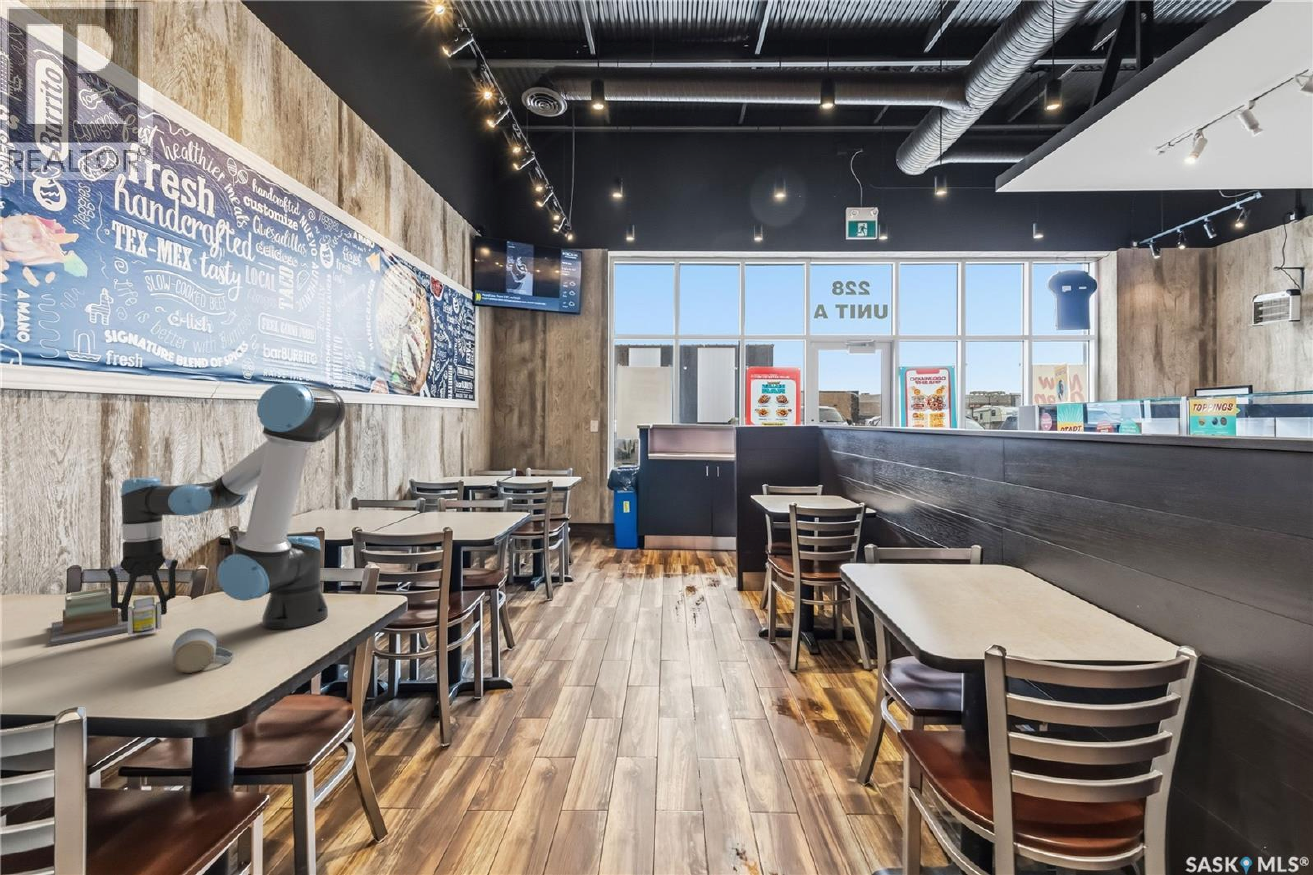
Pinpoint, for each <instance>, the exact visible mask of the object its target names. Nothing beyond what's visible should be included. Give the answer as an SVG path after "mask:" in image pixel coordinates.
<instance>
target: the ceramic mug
mask: <svg viewBox="0 0 1313 875" xmlns="http://www.w3.org/2000/svg"><path fill="white" fill-rule="evenodd" d="M217 644H218V642H217V637H216V636H215V634H214V633H213V632H212V631H210V630H208V629H205V628H192V629H189V630H185V631H184V632H182V633H181V634H179V636H178V637H177V638H176V639H175V641H174V643H173V646H172V655H171V657H172V658H171V659H172V660H171V661H172V664H173V666H174V667H175V669H177V670H178V671H179V672H182V673H186V674H191V673H198V672H200V671H202V670H204V669H206V668H207V667H208V666H209V665H210V664H211V663H214V664H220V665H227V664H229V663H231V662H232V661H233V658H234V656H235V654H234V653H233V652H232V651H231V650H229V649H227V648H224V647H219V646H217Z"/></svg>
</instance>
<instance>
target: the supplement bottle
mask: <svg viewBox="0 0 1313 875" xmlns="http://www.w3.org/2000/svg"><path fill="white" fill-rule="evenodd" d="M132 625H133V635H136V636H139V635H140V636H141V635H146V634H150V633H153V632H155V631H157V630H158V629H157V606H156V601H155V597H154V596H144V597H139V598H135V599H134V600H133V603H132Z"/></svg>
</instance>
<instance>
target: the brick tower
mask: <svg viewBox="0 0 1313 875" xmlns="http://www.w3.org/2000/svg"><path fill="white" fill-rule="evenodd" d="M65 594H66V596H65V603H64V604H65V605H64V606H65V607H64V608H65V609H62V620H61V621H60V620H59V621H54V622H51V630H50V631H51V632H50V636H51V638H50V643H51V644H50V645H51V646H50V647H56V646H61V645H66V644H71V643H77V642H76V641H78V642H82V641H88V640H89V641H90V640H94V639H98V638H103V637H102V636H105V637H110V636H115V634H116V635H120V634H119V633H121V634H125V633H124V632H126V633H128V624H127V621H126V622H122V620H121V610H120V611H119V608H112V607H111V588H110V587H103V588H96V589H95V588H94V589H89V590H80V591H75V592H74V591H73V592H66V593H65Z"/></svg>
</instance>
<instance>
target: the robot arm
mask: <svg viewBox="0 0 1313 875" xmlns="http://www.w3.org/2000/svg"><path fill="white" fill-rule="evenodd" d="M346 411H347V410H346V405H345V401H344V400H343V398H342V397H341V396H340V395H339V394H338V392H336V391H334V390H333V389H331V388H328V387H324V386H313V385H306V384H301V383H295V382H294V383H279V384H275V385H273V386H271V387H270V388H268V389H267V390H265V391H264V393H262V394H261V396H260V397H259V400H258V402H257V406H256V414H257V417H258V418H259V421H260V423H261V425H262V426H263V428H262V429H263V430H262V434H263V436H264V437H265V438H266V441H265V442H263V443H262V444H261V445H260V446H258V447H257V448H256V449H254V450H253V451H252V452H251V453H249V454H248V455H246V457H244V458H243V459H242V460H240V461H239V462H238V463H236V464H235V465H234V466H232V467H231V468H230V469H229V470H227V471H226V472H224V473H223V474H222V475H221V476H219V477H218V478H217V479H215V481H214V480H213V481H210V482H202V483H193V484H182V485H181V484H180V485H177V484H176V485H163V484H162V479H161V478H159V477H139V478H138V477H137V478H128V479H124V480H123V482H121V494H120V498H121V518H122V520H121V523H122V524H121V526H122V528H121V529H122V530H121V531H122V533H121V534H122V537H121V538H122V540H124V541H123V543H122V560H121V561H120V563H119V564H117V565H114V566H113V567H107V568H106V572H107V575H108V576H109V579H110V582H109V583H110V588H111V607H112V608H118V610H120V611H121V620H122V622H126V621H127V624H128V632H127V635H128V636H132V635H134V634H133V625H132V609H133V606H129V605H130V602H131V598H132V595H133V592H134V589H135V584H136V582H137V579H138V578H141V577H143V576H148V577H149V576H150V577H151V580H152V583H153V584H154V588H155V591H156V594H157V596H158V599H159V601H155V605H156V606H157V630H162V616H164V615H167V613H168V605H167V603H168V601H170V600H172V599H175V598H176V597H177V596H176V595H177V594H176V593H177V589H176V588H177V587H176V568H177V566H178V564H179V561H178V560H177V559H176V558H173V559H171V558H166V557H165V555H164V550H163V548H164V547H163V546H164V544H163V538H161V537H162V536H163V516H182V517H188V516H197V515H201V514H203V513H204V512H208V511H214V510H215V511H216V510H221V509H223V510H224V509H225V510H226V509H231V508H232V509H233V508H234V507H238V506H240V505H242V504H244V503H245V501H247V500H246V499H247V498H248V494H249V492H250V491H251V490H253V489H254V488H255V487H256V490H255V493H254V494H255V495H254V499H253V502H252V505H251V506H252V507H251V510H250V515H249V519H248V523H247V527H246V532H245V534H244V535H243V536H241V537H239V538H238V539H237V540H236V541H235V545H234V548H233V552H232V554H231V555H227V557H226V558H224V559H222V561H221V562H220V563H219V565H218V567H217V569H216V570H217V572H216V578H217V582H218V585H219V587H220V588H221V589H222V590H223V592H224V594H226V595H227V596H228V597H230V598H231V599H233V600H236V601H243V602H246V601H250V600H253V599H259V598H262V597H264V596H266V595H269V598H268V601H267V603H266V606H265V609H264V612H263V614H262V618H261V620H262V621H261V622H262V625H261V626H262V627H263V628H265V629H269V630H287V629H295V628H296V629H297V628H301V627H306V626H310V625H314V624H317V623H319V622H322V621H324V620H325V619H327V618H328V616H329V614H328V612H329V609H328V605H327V603H326V601H325V600H326V599H325V598H324V594H323V591H322V590H321V552H322V548H321V541H320V539H319V538H318V537H317V536H308V535H307V536H306V535H304V536H303V535H298V536H297V535H295V536H294V535H293V536H288V532H289V528H290V524H291V521H292V516H293V512H294V508H295V504H296V499H297V495H298V492H299V487H300V484H301V480H302V475H303V471H304V468H305V464H306V459H307V455H308V450H309V448H310V447H311V446H314V445H315V444H317V442H322V441H323V440H325V439H326V438H328V437H329V436H330V435H332V433H334V432H335V431H336V430H337V429H338V428H339V427H340V426H341V425H342V423H344V420H345V417H346V413H347V412H346ZM164 564H165V567H166V568H167V583H168V585H167V586H168V587H167V589H168V591H167V592H168V594H165V590H164V587H163V585H162V582H161V579H160V577H159V576H160V575H159V573H158V571H159V569H160V568H161V567H162V566H163V565H164ZM121 570H124V571H125V572H126V573H127V574H129V576H128V580H127V583H126V587H125V590H124V594H123V597H122V600H121V602H119V585H118V584H119V582H118V581H119V578H118V575H120V574H121Z"/></svg>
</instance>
